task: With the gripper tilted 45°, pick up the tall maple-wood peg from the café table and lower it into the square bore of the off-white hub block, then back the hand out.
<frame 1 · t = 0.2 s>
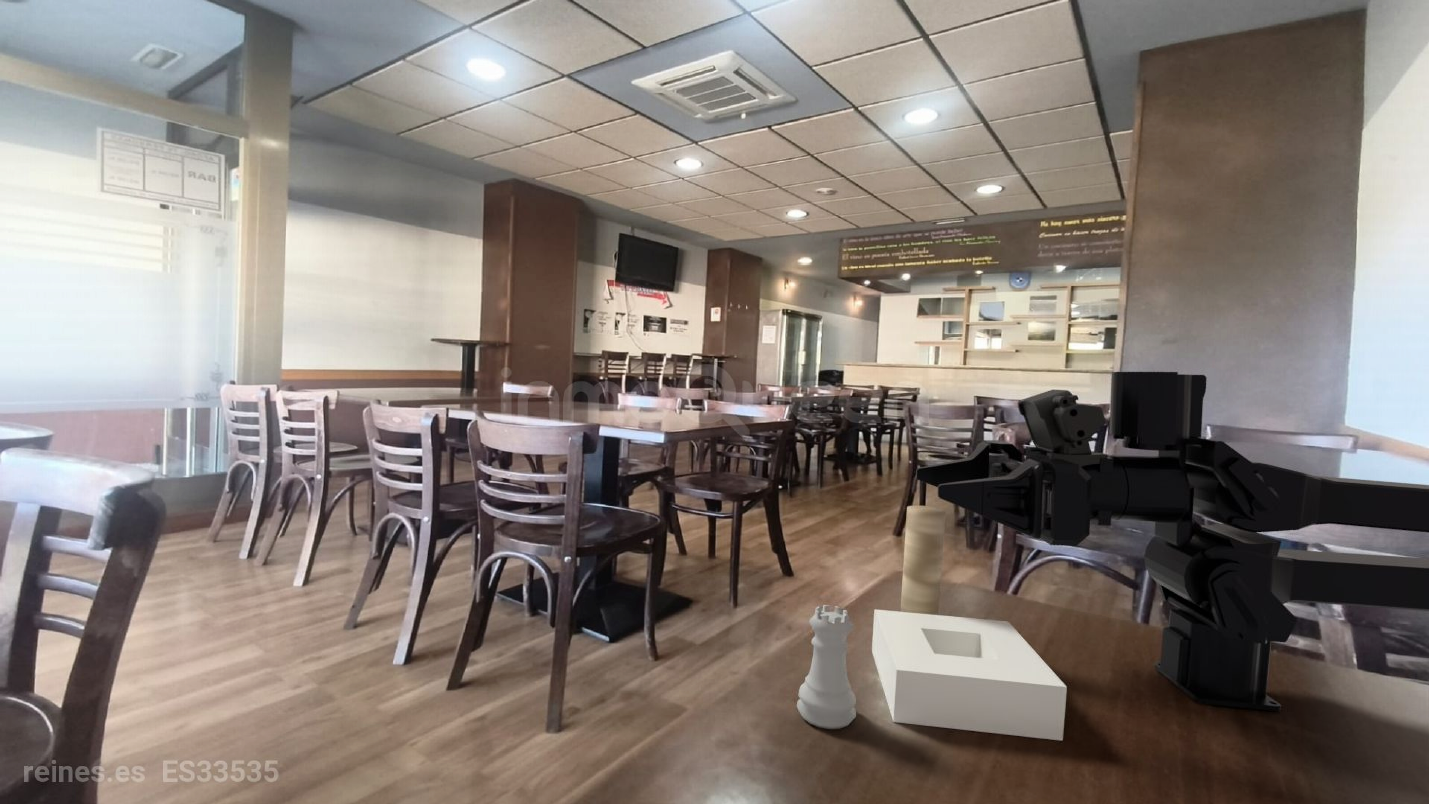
hand: (926, 481, 56), 16 cm above the table, tool horizontal, fingers open, 9 cm apart
peg: (917, 638, 62), on the table
hub block: (954, 690, 52), on the table
rook chess piece: (825, 717, 47), on the table
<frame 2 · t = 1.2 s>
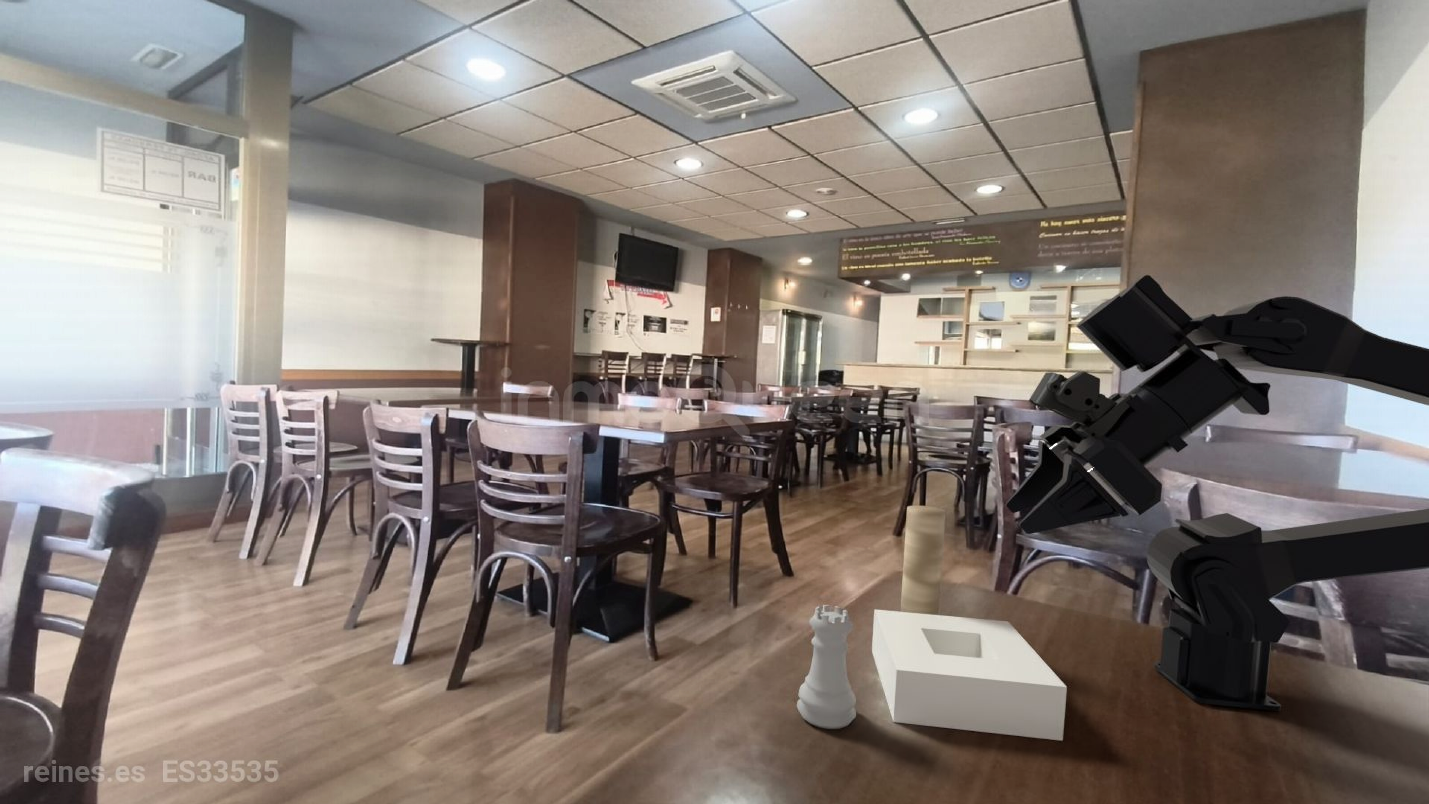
hand: (1015, 518, 58), 13 cm above the table, tool tilted 45°, fingers open, 9 cm apart
nothing on the table moved.
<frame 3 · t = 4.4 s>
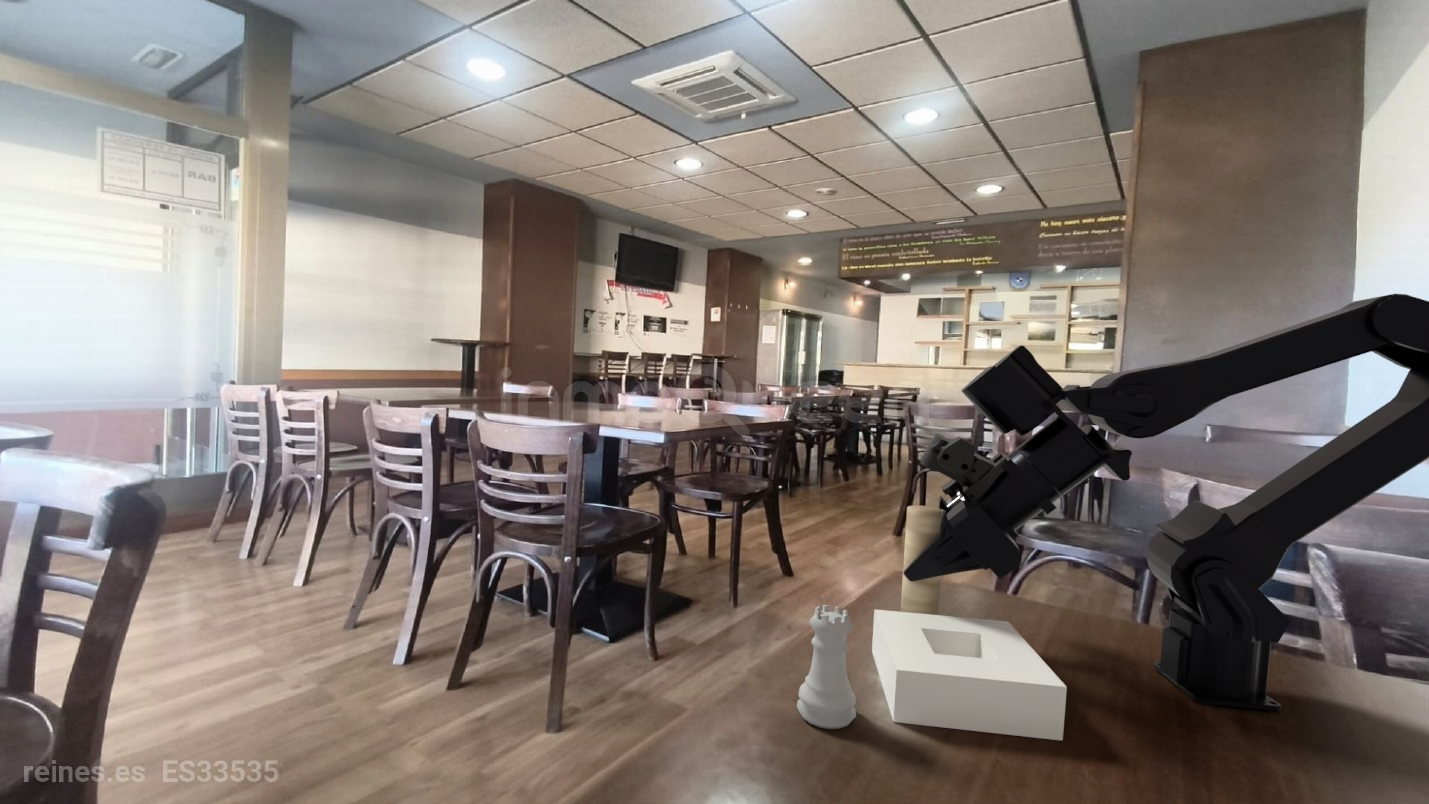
hand: (907, 571, 62), 7 cm above the table, tool tilted 45°, fingers closed on peg, 4 cm apart
peg: (917, 638, 62), on the table, touching gripper
everything else where it was.
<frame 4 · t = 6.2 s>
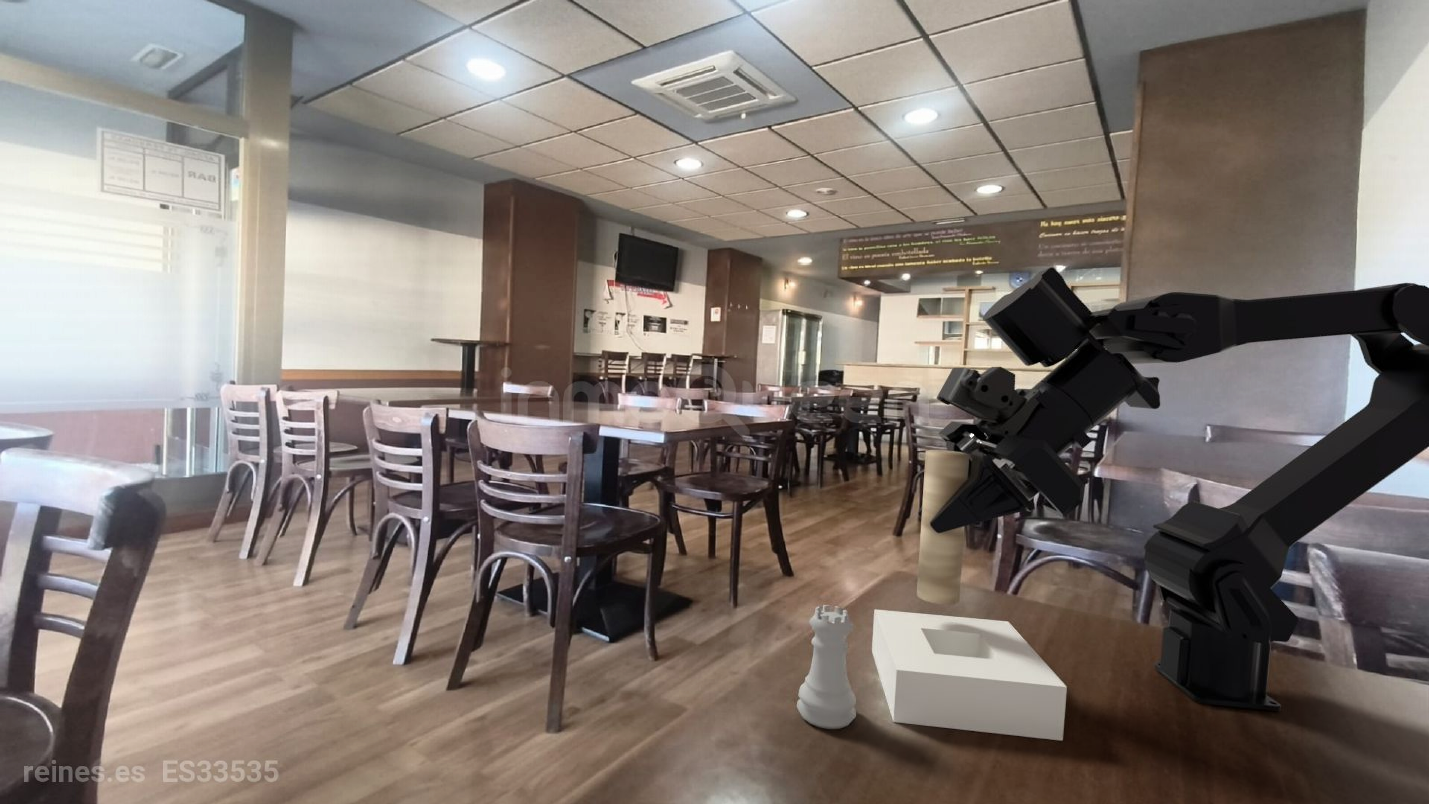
hand: (926, 523, 55), 13 cm above the table, tool tilted 45°, fingers closed on peg, 4 cm apart
peg: (937, 597, 55), point 6 cm above the table, touching gripper
everything else where it was.
when the fingers open (9 cm above the table, at t = 8.2 s): peg drops 1 cm, resting on hub block.
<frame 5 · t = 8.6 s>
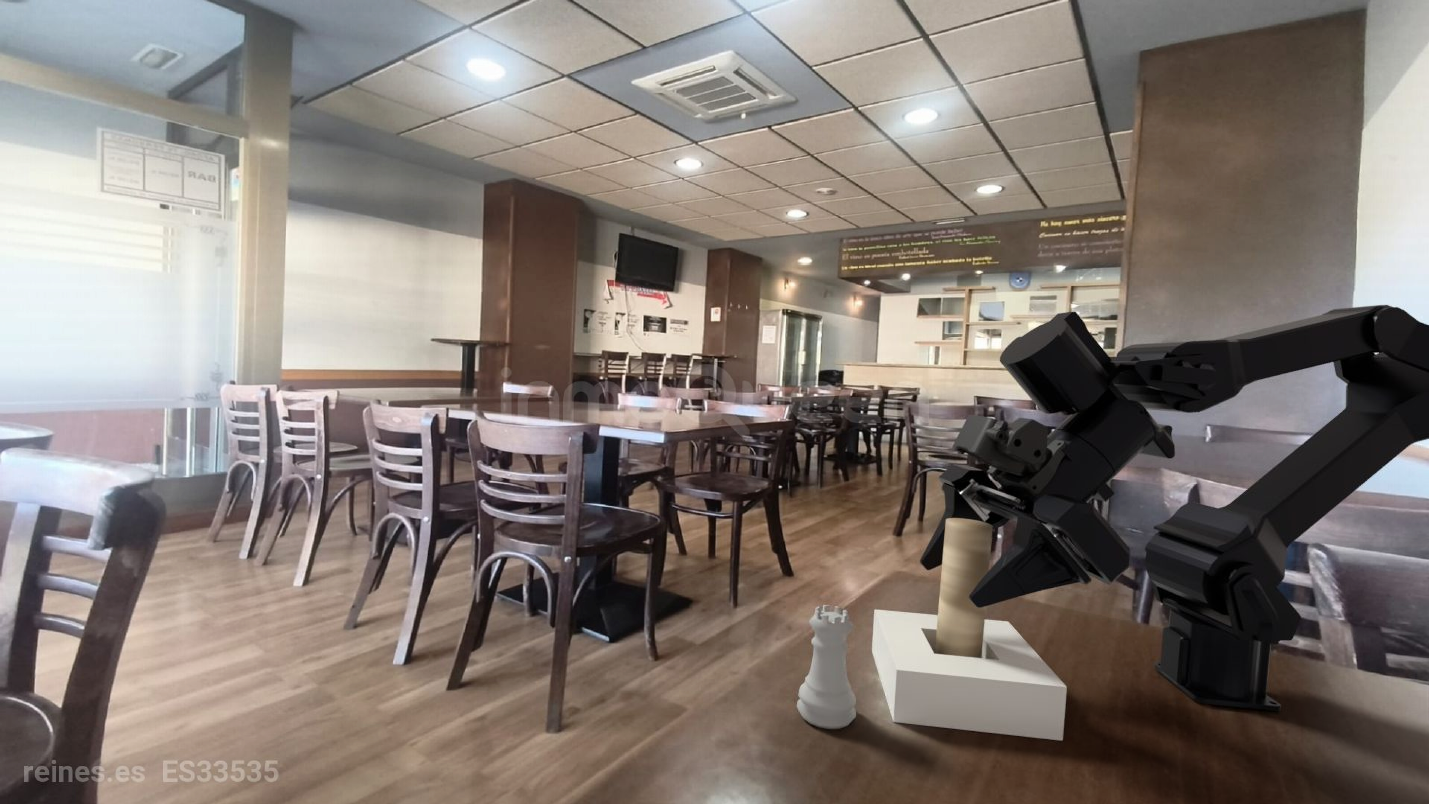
hand: (946, 583, 51), 9 cm above the table, tool tilted 45°, fingers open, 8 cm apart
peg: (955, 677, 51), point 1 cm above the table, touching hub block
everything else where it was.
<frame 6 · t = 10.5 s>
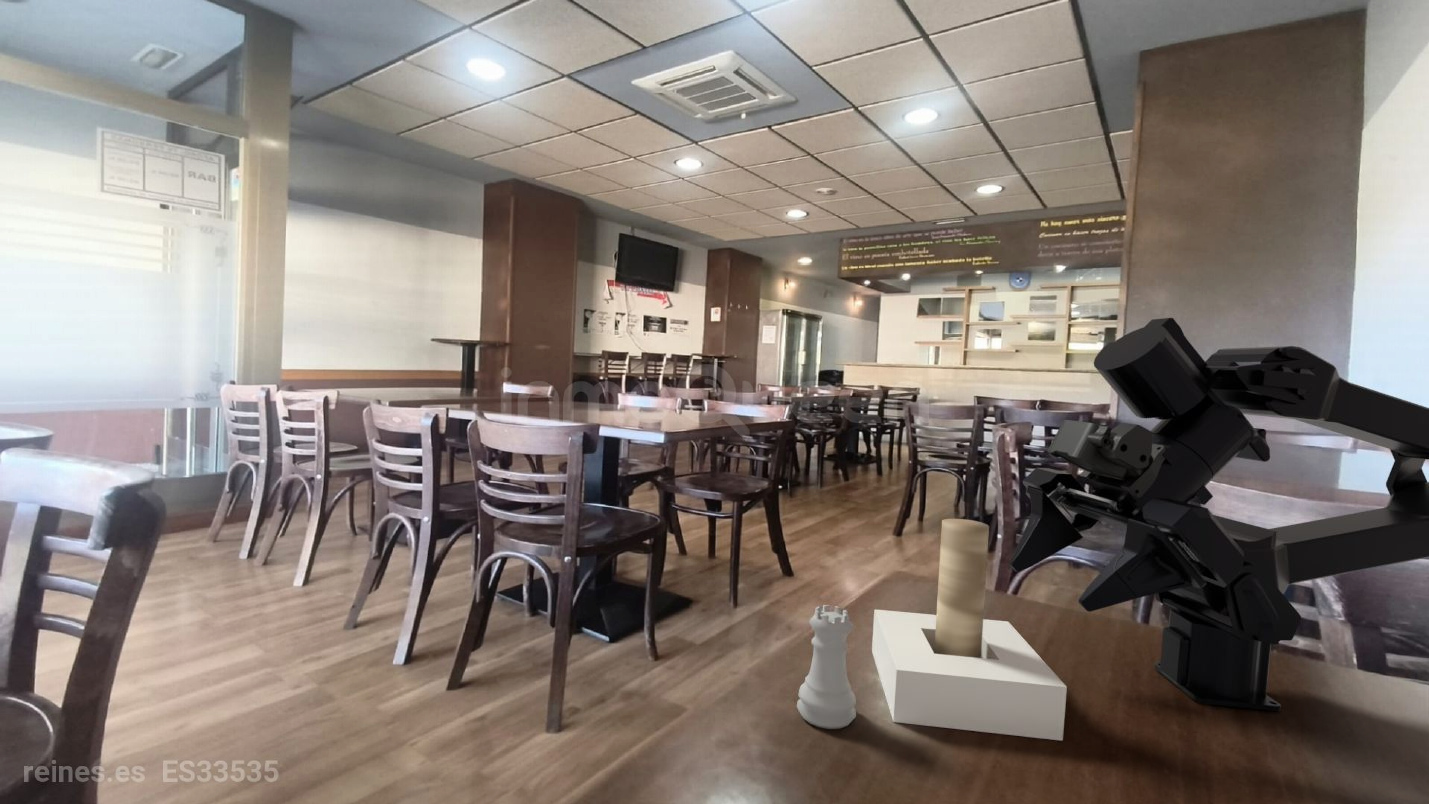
hand: (1045, 585, 52), 9 cm above the table, tool tilted 45°, fingers open, 9 cm apart
nothing on the table moved.
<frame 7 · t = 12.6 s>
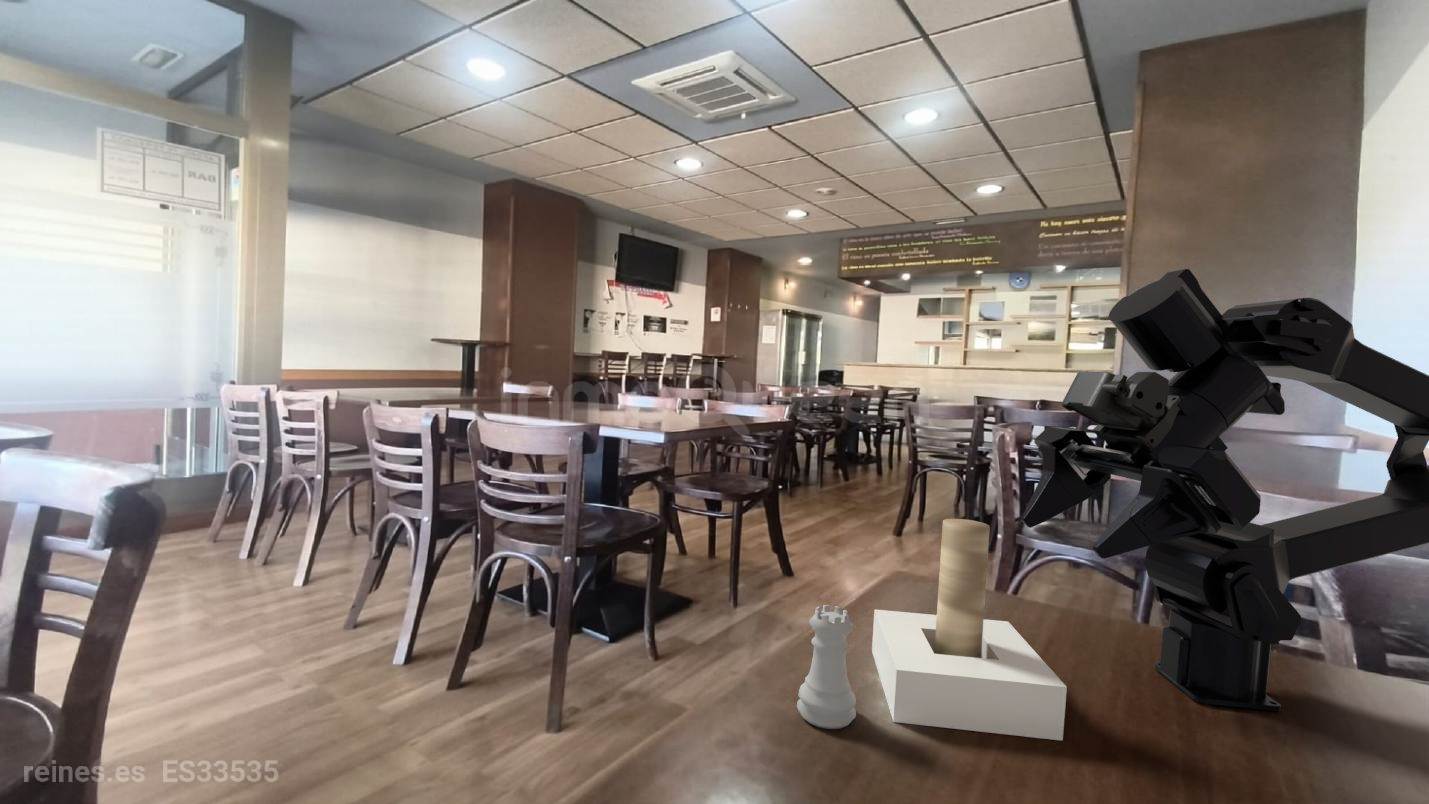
hand: (1058, 537, 52), 13 cm above the table, tool tilted 45°, fingers open, 9 cm apart
nothing on the table moved.
at the end: peg 0.0 cm off-centre on the hub block, point 1.0 cm above the hub block's base; peg tilted 1°; the gripper is holding nothing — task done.
